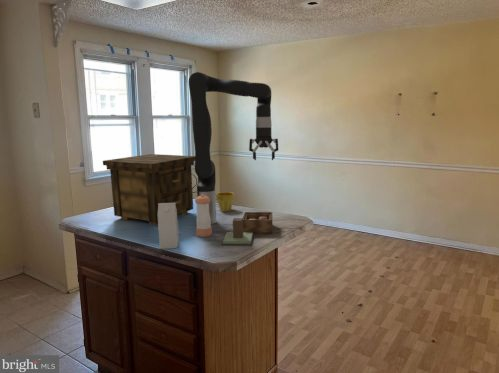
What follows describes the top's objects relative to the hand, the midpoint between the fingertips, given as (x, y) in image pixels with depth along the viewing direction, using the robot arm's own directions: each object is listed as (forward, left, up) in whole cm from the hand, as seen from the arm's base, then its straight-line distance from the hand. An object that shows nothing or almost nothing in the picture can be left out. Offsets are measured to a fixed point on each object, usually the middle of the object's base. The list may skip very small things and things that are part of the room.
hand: (263, 159), depth 180 cm
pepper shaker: (-28, -16, -33) cm, 46 cm away
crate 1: (-62, +15, -33) cm, 72 cm away
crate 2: (-3, -8, -33) cm, 34 cm away
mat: (-11, -24, -33) cm, 42 cm away
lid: (-11, -24, -33) cm, 42 cm away
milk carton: (-40, -32, -33) cm, 61 cm away
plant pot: (-24, +29, -33) cm, 50 cm away
